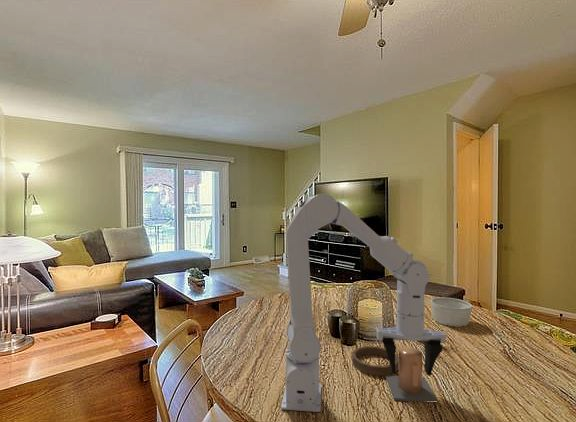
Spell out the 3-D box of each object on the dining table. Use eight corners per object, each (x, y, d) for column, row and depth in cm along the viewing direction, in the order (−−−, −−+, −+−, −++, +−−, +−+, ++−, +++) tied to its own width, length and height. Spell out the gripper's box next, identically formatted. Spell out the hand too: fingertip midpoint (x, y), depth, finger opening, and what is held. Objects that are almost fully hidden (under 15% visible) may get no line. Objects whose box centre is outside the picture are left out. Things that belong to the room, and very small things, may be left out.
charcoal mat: (438, 403, 65) (438, 400, 65) (394, 400, 66) (394, 397, 66) (424, 379, 74) (424, 377, 74) (385, 377, 75) (385, 375, 75)
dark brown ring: (403, 376, 75) (403, 368, 75) (354, 373, 77) (354, 365, 77) (392, 354, 87) (392, 347, 87) (350, 352, 88) (350, 345, 88)
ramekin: (480, 329, 105) (480, 308, 105) (440, 328, 106) (440, 308, 105) (459, 315, 119) (459, 297, 118) (424, 315, 119) (424, 297, 119)
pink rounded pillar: (396, 380, 73) (396, 346, 73) (418, 381, 73) (418, 347, 72) (403, 397, 66) (403, 360, 66) (427, 399, 66) (428, 361, 66)
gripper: (437, 307, 73) (437, 364, 73) (374, 305, 75) (374, 361, 75) (449, 318, 66) (449, 381, 66) (379, 315, 68) (379, 377, 68)
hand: (410, 372), depth 70 cm, fingers open, 7 cm apart
